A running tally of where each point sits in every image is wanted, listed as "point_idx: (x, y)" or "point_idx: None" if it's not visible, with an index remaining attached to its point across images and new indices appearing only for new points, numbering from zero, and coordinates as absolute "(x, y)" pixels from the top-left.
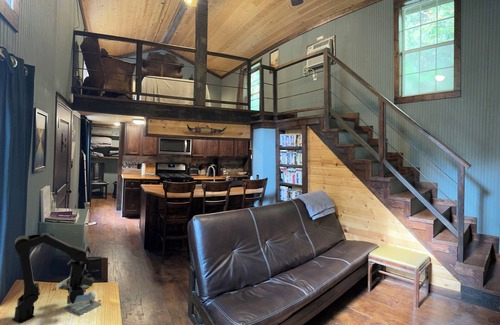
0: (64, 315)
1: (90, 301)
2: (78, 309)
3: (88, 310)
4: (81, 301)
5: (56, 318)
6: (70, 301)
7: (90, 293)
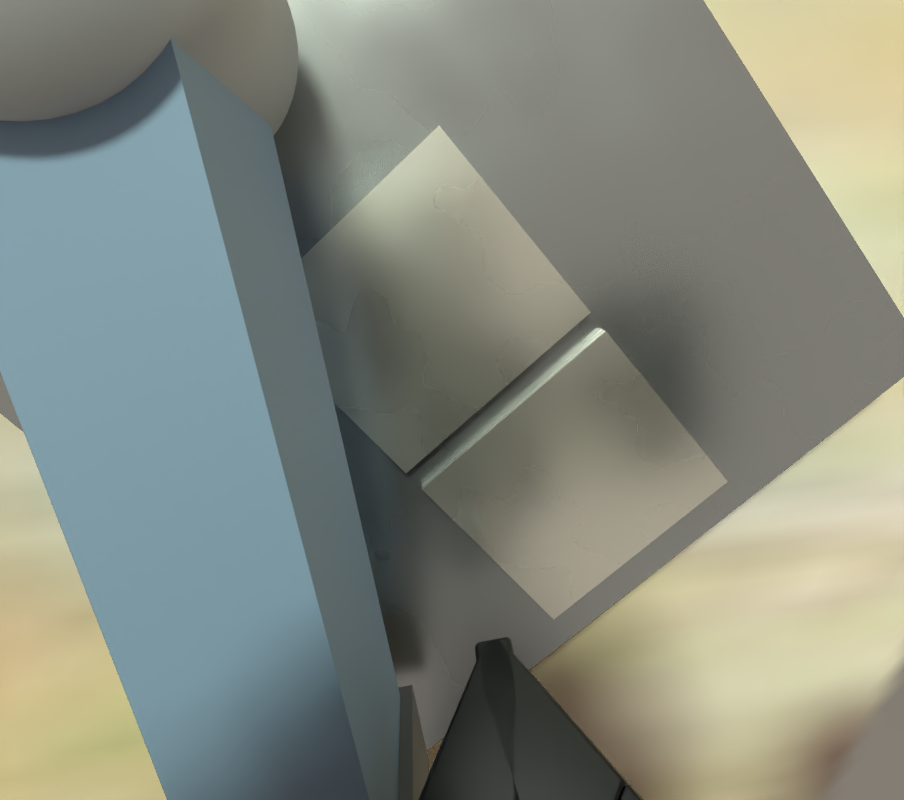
0: (717, 655)
1: None
2: (693, 434)
3: (774, 157)
4: None
5: (777, 758)
6: (414, 757)
7: (124, 18)
